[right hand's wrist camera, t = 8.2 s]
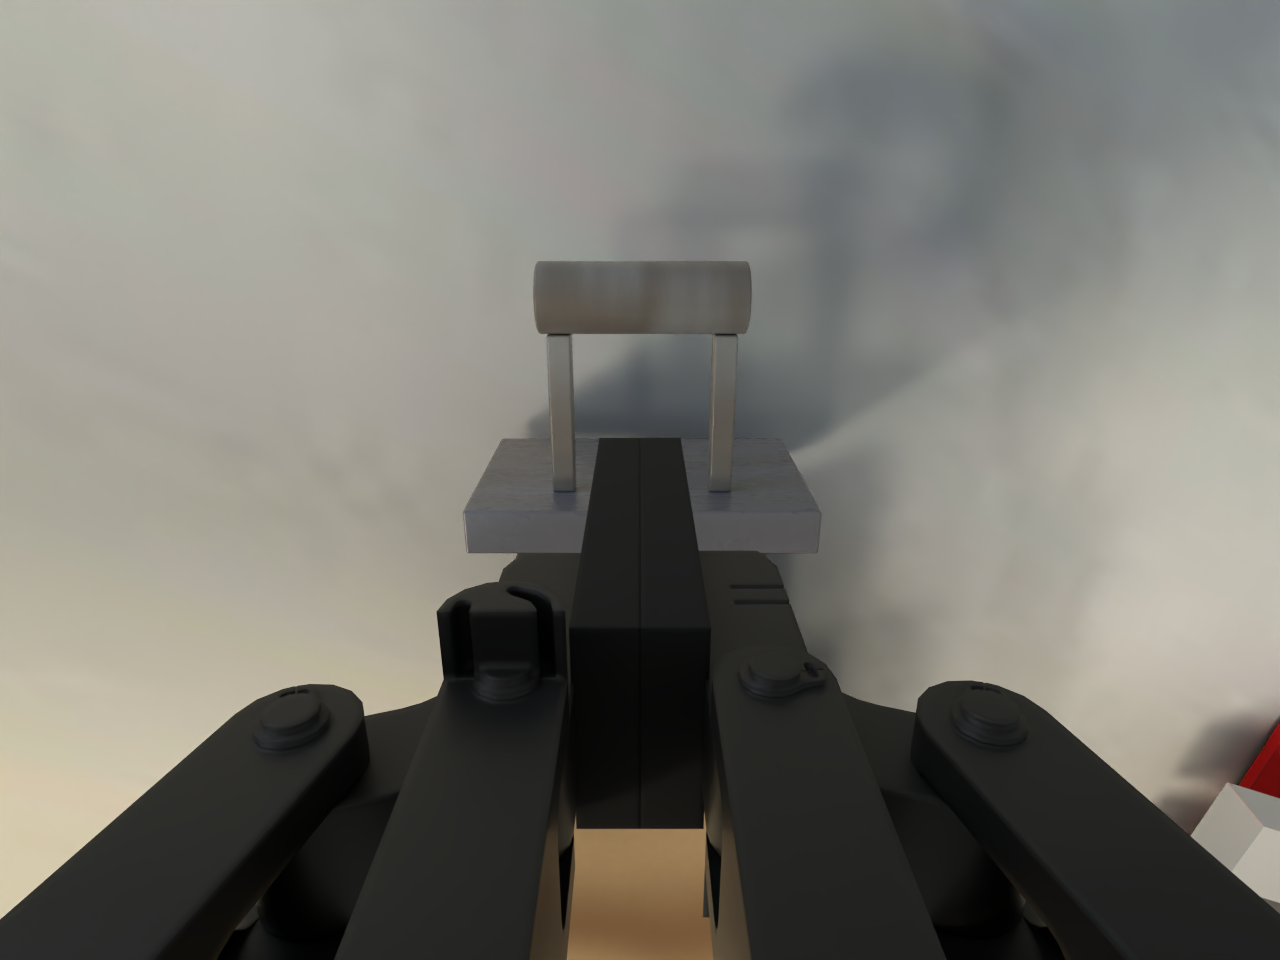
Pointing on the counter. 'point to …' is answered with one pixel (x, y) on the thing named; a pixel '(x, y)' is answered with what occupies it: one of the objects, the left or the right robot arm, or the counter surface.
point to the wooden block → (639, 895)
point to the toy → (1249, 825)
